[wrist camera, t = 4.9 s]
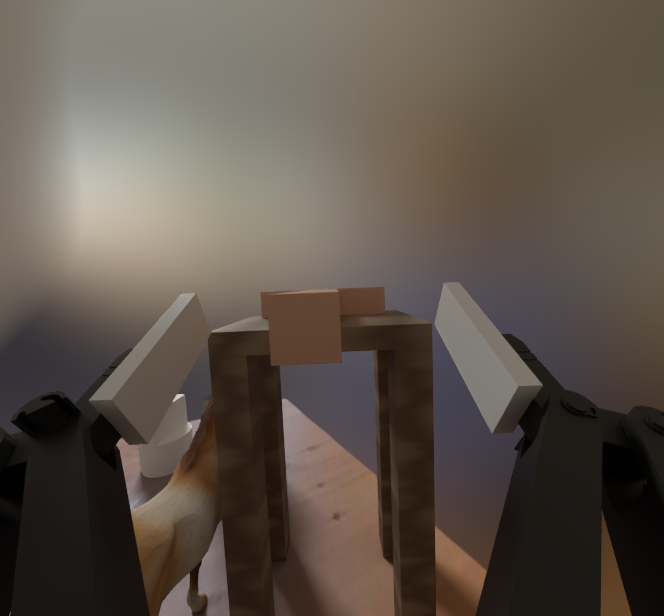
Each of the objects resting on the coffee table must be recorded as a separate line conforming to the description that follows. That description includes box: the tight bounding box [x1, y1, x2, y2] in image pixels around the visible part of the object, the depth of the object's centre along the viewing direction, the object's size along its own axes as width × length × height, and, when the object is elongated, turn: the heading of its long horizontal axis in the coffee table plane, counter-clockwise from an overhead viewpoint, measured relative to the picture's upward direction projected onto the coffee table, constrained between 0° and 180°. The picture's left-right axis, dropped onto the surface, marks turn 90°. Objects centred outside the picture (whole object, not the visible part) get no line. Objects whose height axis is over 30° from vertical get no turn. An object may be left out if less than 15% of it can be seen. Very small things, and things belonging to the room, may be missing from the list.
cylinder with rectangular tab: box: [138, 394, 193, 478], centre depth 52 cm, size 9×9×12 cm
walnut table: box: [208, 310, 436, 616], centre depth 28 cm, size 18×12×30 cm, turn 90°
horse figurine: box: [131, 396, 222, 616], centre depth 22 cm, size 31×8×21 cm, turn 170°
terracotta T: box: [261, 287, 385, 366], centre depth 22 cm, size 14×22×3 cm, turn 0°
